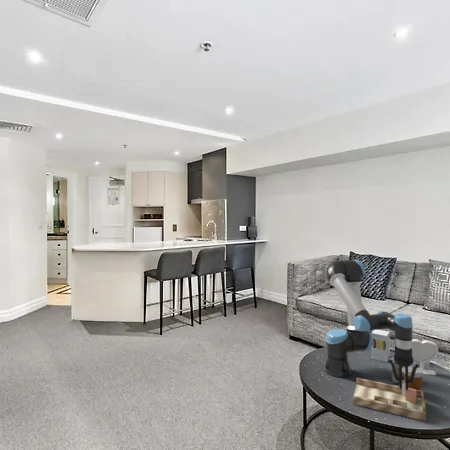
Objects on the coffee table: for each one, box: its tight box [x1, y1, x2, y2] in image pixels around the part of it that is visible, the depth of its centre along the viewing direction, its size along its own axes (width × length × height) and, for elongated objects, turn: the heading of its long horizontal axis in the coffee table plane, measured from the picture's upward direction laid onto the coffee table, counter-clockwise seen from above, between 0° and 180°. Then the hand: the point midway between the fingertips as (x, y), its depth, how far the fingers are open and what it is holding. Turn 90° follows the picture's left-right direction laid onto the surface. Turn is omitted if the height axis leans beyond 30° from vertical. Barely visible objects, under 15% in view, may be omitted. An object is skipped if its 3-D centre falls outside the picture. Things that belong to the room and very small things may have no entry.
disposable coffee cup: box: [402, 364, 424, 391], centre depth 164 cm, size 10×10×12 cm
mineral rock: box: [390, 364, 404, 384], centre depth 175 cm, size 13×11×10 cm
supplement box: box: [371, 329, 391, 363], centre depth 203 cm, size 10×9×17 cm
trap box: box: [352, 377, 427, 422], centre depth 155 cm, size 30×16×6 cm, turn 62°
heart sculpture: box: [412, 338, 439, 376], centre depth 185 cm, size 16×5×18 cm, turn 66°
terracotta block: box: [405, 388, 416, 403], centre depth 153 cm, size 4×4×4 cm
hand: (403, 394), depth 155 cm, fingers closed
